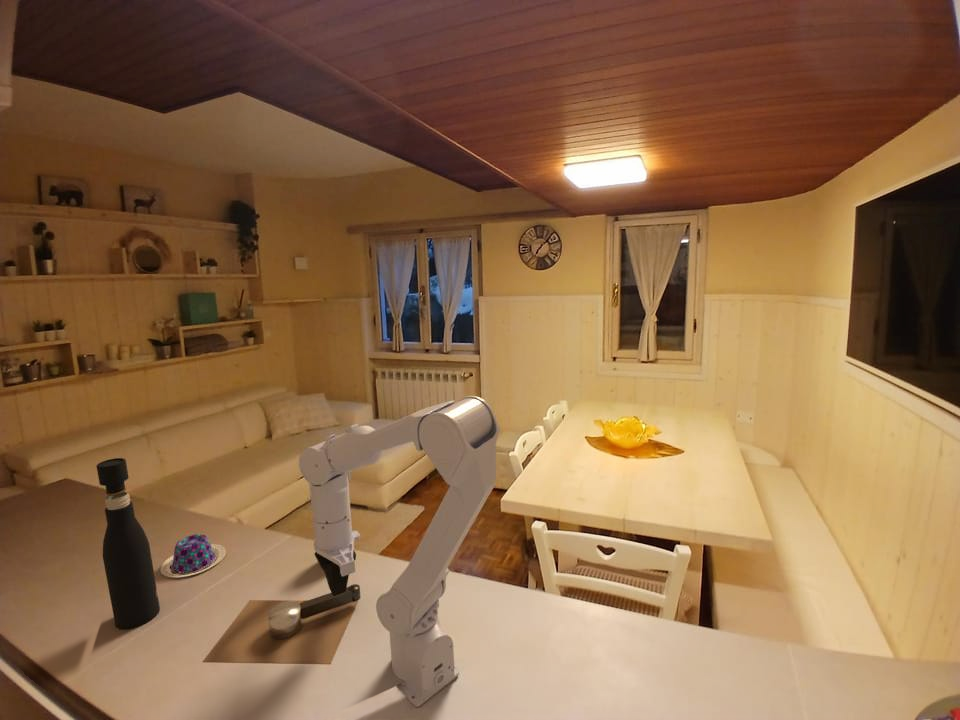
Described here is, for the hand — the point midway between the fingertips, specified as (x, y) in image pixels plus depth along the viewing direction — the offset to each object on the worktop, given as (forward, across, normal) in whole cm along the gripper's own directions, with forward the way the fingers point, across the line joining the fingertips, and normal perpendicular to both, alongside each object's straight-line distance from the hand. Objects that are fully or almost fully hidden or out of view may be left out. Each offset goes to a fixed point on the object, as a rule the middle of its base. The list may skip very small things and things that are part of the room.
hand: (338, 591), depth 78 cm
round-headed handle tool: (+7, +5, +3) cm, 9 cm away
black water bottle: (+9, +23, +29) cm, 38 cm away
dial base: (+8, +5, +8) cm, 13 cm away
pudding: (+9, +40, +20) cm, 45 cm away
